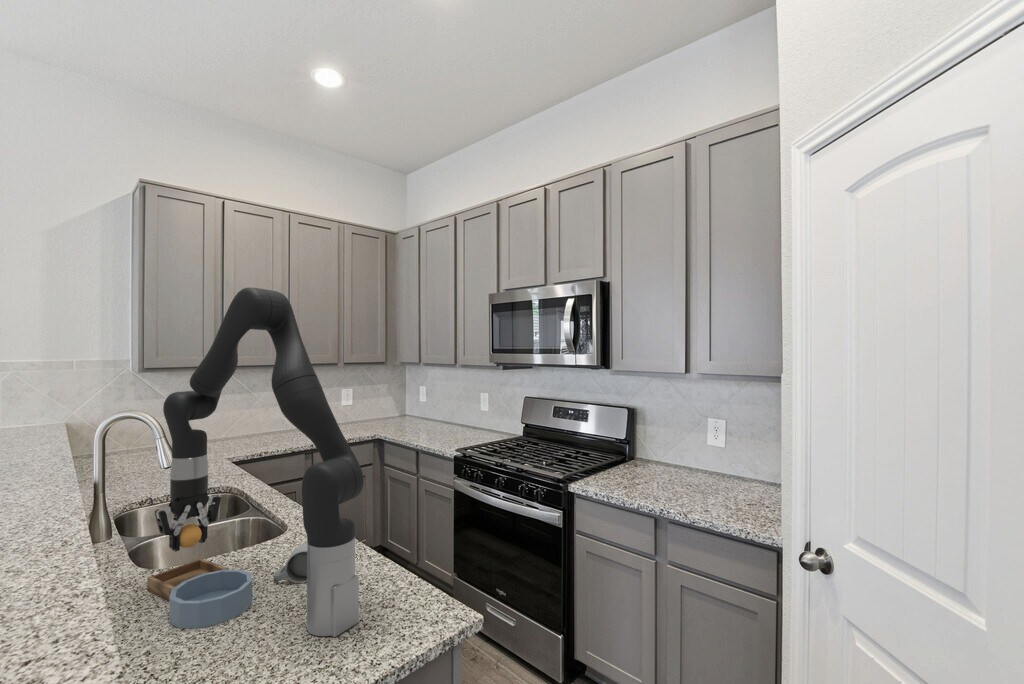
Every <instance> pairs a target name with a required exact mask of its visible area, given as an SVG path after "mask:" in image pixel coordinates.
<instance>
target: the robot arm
mask: <svg viewBox="0 0 1024 684" xmlns="http://www.w3.org/2000/svg"><path fill="white" fill-rule="evenodd" d="M226 310H227V311H226V313H225V314H224V317H223V319H222V322H221V324H220V326H219V328H218V330H217V332H216V334H215V337H214V340H213V342H212V344H211V346H210V348H209V350H208V351H207V353H206V355H205V356H204V358H203V359H202V361H201V362H200V363H199V364H198V366H197V368H196V369H195V370H194V372H193V373H192V374H191V376H190V378H189V385H190V389H192V390H187V391H186V390H185V391H176V392H172V393H171V394H168V396H167V397H166V398H165V400H164V402H163V407H162V408H163V409H162V411H163V415H164V419H165V421H166V424H167V428H168V431H169V435H170V438H171V462H170V463H171V464H170V473H169V477H170V479H169V481H170V482H169V485H170V487H169V491H170V492H169V497H170V501H169V503H168V506H167V507H164V508H162V509H160V508H157V509H155V511H154V515H155V519H156V520H155V521H156V525H157V527H158V532H159V533H160V534H161V535H164V536H166V537H167V536H169V537H168V547H169V549H171V550H172V552H178V551H180V547H181V546H180V535H179V532H180V529H181V528H182V527H183V526H185V522H186V520H188V519H190V518H195V519H196V522H197V524H198V525H197V526H198V527H199V528H200V529H201V532H202V535H201V538H200V540H199V542H198V543H200V544H203V543H206V540H207V539H208V526H209V525H210V524H211V523H213V522H217V519H218V513H219V508H220V505H221V499H222V497H221V496H218V495H211V496H210V495H209V494H208V490H209V461H208V435H207V432H206V431H205V430H202V429H196V428H192V427H191V426H192V425H191V424H190V422H191V421H195V420H202V419H206V418H208V417H209V416H211V415H212V414H214V412H215V411H216V409H217V407H218V403H219V401H220V397H221V396H222V391H223V389H224V388H225V386H226V385H227V383H228V382H229V381H230V380H231V378H232V377H233V376H234V374H235V372H236V370H237V367H238V363H239V353H238V347H239V343H240V341H241V339H242V338H243V337H244V336H245V335H246V333H248V332H249V331H250V330H258V331H267V333H268V334H269V336H270V339H271V340H272V343H273V346H274V349H275V360H274V365H273V370H272V374H271V388H272V391H273V394H274V397H275V399H276V402H277V405H278V407H279V409H280V411H281V413H282V415H283V416H284V417H285V418H286V419H287V421H289V422H290V423H291V424H292V425H293V426H294V427H295V428H296V429H297V430H299V431H300V432H302V434H303V435H304V436H306V437H307V438H308V439H309V440H310V441H311V443H312V444H313V445H314V446H315V448H316V449H317V451H318V454H319V456H320V457H321V460H322V461H319V462H317V463H313V464H311V465H310V466H309V467H307V469H306V470H305V472H304V474H303V477H302V481H301V505H302V521H303V527H304V532H305V534H306V537H307V538H306V541H307V542H306V543H307V582H306V630H307V631H308V633H309V634H311V635H312V636H317V637H328V636H329V637H333V638H336V637H337V636H339V635H341V634H342V633H344V632H345V631H347V630H348V629H350V628H352V627H353V626H355V625H356V624H358V623H359V619H360V618H359V616H360V615H359V612H360V611H359V606H360V605H359V604H360V602H359V601H360V600H359V597H360V596H359V593H360V590H359V587H360V586H359V584H360V583H359V575H357V574H356V525H355V521H353V520H352V519H349V518H347V517H346V518H345V517H341V516H340V507H339V505H340V504H344V503H346V502H348V501H351V500H353V499H355V498H357V497H358V496H360V494H361V492H362V491H363V488H364V485H365V483H364V474H363V470H362V467H361V465H360V463H359V461H358V459H357V456H356V455H355V453H354V451H353V450H352V448H351V446H350V444H349V443H348V441H347V440H346V438H345V436H344V434H343V432H342V430H341V428H340V425H339V423H338V422H337V420H336V417H335V415H334V413H333V411H332V409H331V407H330V404H329V403H328V399H327V397H326V394H325V392H324V390H323V387H322V384H321V382H320V380H319V377H318V376H317V373H316V371H315V369H314V367H313V364H312V363H311V359H310V357H309V354H308V353H307V350H306V346H305V344H304V341H303V339H302V337H301V333H300V331H299V327H298V323H297V319H296V315H295V313H294V310H293V307H292V304H291V303H290V301H289V299H288V297H287V296H286V295H285V294H284V293H281V292H279V291H277V290H272V289H265V288H258V287H244V288H242V289H240V290H239V291H237V293H236V294H235V296H234V297H233V299H232V301H231V302H230V304H229V306H228V308H227V309H226ZM207 504H208V508H207V512H206V511H205V509H204V508H205V507H206V505H207ZM170 512H171V513H172V517H171V520H170V523H169V519H168V517H169V516H170Z"/></svg>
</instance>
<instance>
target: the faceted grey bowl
mask: <svg viewBox="0 0 1024 684" xmlns="http://www.w3.org/2000/svg"><path fill="white" fill-rule="evenodd" d="M168 602H169V603H168V604H169V605H168V606H169V608H168V611H169V613H168V614H169V617H168V619H169V621H168V622H169V624H171V625H173V626H174V627H176V628H178V629H202V628H207V627H210V626H215V625H218V624H222V623H225V622H227V621H229V620H231V619H234V618H236V617H237V616H239V615H241V614H243V613H245V611H246V610H247V609H248V608H249V607H250V606H251V605H252V604H253V575H252V573H251V572H249V571H247V570H246V571H245V570H243V569H229V570H220V571H215V572H210V573H205V574H201V575H199V576H196V577H194V578H191V579H188V580H186V581H184V582H182V583H181V584H179V585H178V586H177V587H175V588H174V589H172V590H171V594H170V598H169V601H168Z"/></svg>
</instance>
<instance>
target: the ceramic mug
mask: <svg viewBox="0 0 1024 684" xmlns="http://www.w3.org/2000/svg"><path fill="white" fill-rule="evenodd" d="M273 578H274V579H275V582H280V581H283V580H286V579H288V580H289V581H291V582H292V583H295V584H299V583H301V584H305V582H306V583H307V542H303V543H301V544H299V545H297V546H296V548H295V549H293V551H292V552H291V554H290V556H289V557H288V559H287V560H286V563H285V565H283V566H282V567H280V568H279V569H277V571H276V572H275V573H274V574H273Z"/></svg>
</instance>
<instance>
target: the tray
mask: <svg viewBox="0 0 1024 684" xmlns="http://www.w3.org/2000/svg"><path fill="white" fill-rule="evenodd" d="M220 570H230V569H229V568H228V567H225V566H223V565H220V564H217V563H215V562H212V561H209V560H207V559H205V558H198V559H196V560H193V561H190V562H187V563H185V564H181V565H179V566H177V567H174V568H170V569H168V570H165V571H162V572H159V573H157V574H154V575H152V576H151V575H150V576H148V577H147V579H146V581H147V583H146V584H147V585H146V590H147V592H149V593H151V594H153V595H156V596H158V597H159V598H162V599H164V600H166V601H168V602H169V598H170V594H171V590H172V589H174V588H175V587H177V586H178V585H179V584H181V583H182V582H184V581H186V580H188V579H191V578H194V577H196V576H199V575H201V574H205V573H210V572H215V571H220Z"/></svg>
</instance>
